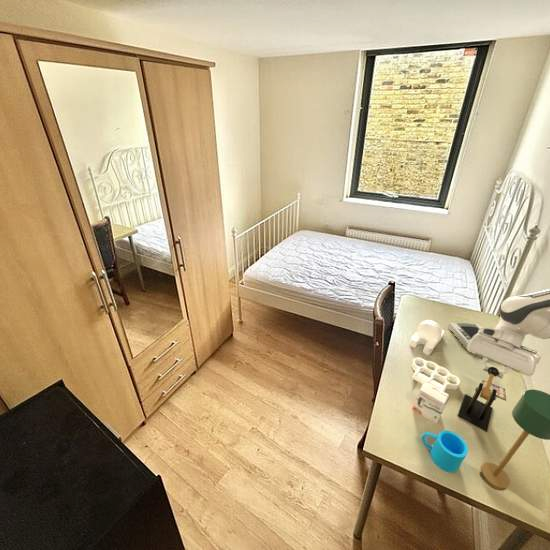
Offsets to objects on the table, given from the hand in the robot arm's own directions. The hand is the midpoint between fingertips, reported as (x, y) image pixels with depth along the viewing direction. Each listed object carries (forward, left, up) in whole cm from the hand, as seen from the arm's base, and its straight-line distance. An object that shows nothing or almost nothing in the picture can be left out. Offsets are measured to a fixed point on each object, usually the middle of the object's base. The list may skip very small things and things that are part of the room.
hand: (491, 374), depth 105 cm
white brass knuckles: (+16, -2, -13) cm, 21 cm away
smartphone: (-6, -11, -13) cm, 18 cm away
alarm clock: (-2, -38, -13) cm, 41 cm away
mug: (+14, +31, -13) cm, 36 cm away
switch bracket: (+2, +9, -13) cm, 16 cm away
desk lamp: (-1, +31, -13) cm, 33 cm away
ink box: (+18, +17, -13) cm, 28 cm away
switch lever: (+1, +3, -2) cm, 4 cm away
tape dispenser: (+19, -26, -13) cm, 35 cm away
